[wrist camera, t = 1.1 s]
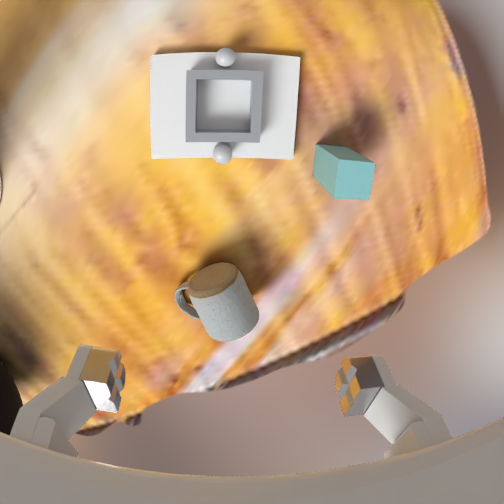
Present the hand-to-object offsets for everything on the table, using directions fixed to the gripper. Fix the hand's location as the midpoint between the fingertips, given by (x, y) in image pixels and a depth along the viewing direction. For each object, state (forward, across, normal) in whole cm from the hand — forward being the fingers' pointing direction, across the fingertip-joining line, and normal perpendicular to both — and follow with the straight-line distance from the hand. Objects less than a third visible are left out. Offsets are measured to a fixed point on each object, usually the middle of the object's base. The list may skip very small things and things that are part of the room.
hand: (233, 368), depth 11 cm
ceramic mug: (+29, -1, -18) cm, 34 cm away
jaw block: (+29, +12, +2) cm, 32 cm away
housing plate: (+29, -1, +7) cm, 30 cm away
